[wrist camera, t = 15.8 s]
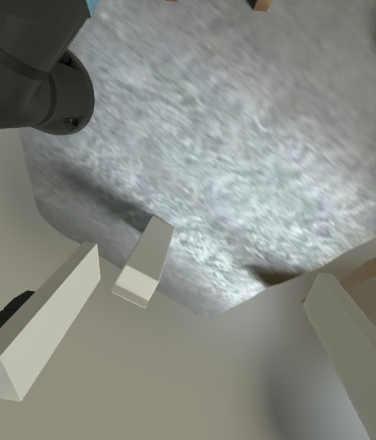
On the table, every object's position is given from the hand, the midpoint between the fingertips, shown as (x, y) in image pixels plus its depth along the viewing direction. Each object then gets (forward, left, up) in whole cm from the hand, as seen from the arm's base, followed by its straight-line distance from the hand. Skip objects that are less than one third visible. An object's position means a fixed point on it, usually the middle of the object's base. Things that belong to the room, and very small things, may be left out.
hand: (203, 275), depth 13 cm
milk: (-9, -17, -35) cm, 40 cm away
